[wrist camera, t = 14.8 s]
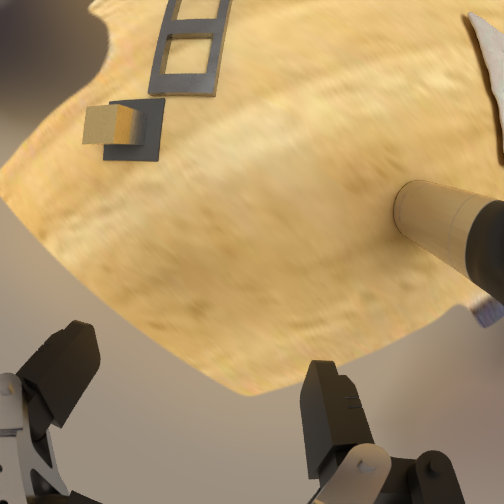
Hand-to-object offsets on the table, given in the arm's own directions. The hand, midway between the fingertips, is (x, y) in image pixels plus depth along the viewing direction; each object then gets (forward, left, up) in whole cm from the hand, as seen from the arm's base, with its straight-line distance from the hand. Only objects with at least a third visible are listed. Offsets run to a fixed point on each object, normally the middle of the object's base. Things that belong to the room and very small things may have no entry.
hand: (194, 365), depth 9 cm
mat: (+17, -10, -30) cm, 36 cm away
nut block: (+17, -10, -30) cm, 36 cm away
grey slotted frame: (+10, -26, -30) cm, 41 cm away
